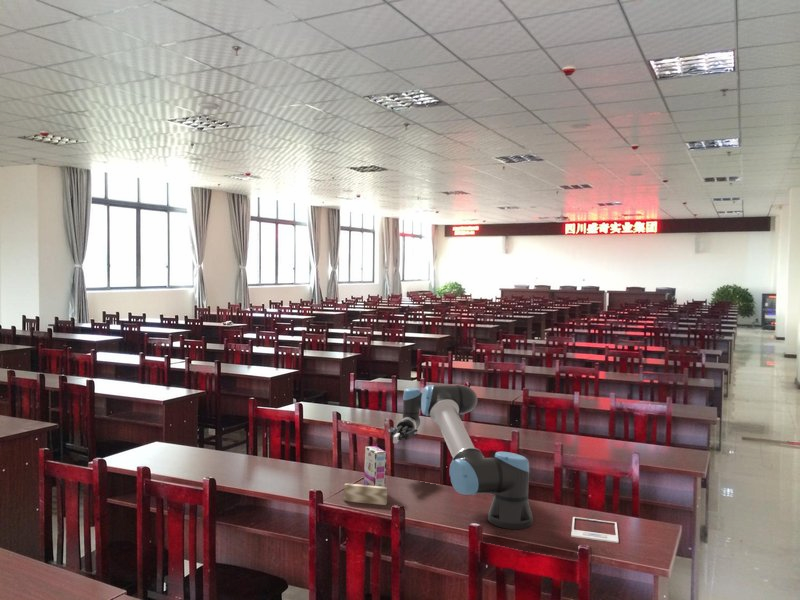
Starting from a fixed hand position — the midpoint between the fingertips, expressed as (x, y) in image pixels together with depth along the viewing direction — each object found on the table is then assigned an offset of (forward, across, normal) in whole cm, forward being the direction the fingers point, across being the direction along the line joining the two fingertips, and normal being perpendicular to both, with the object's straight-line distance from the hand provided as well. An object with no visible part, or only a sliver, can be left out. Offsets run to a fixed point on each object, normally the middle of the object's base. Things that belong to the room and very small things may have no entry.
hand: (394, 439), depth 255 cm
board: (+24, +5, -18) cm, 30 cm away
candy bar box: (+10, +6, -18) cm, 21 cm away
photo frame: (+28, -76, -18) cm, 83 cm away
